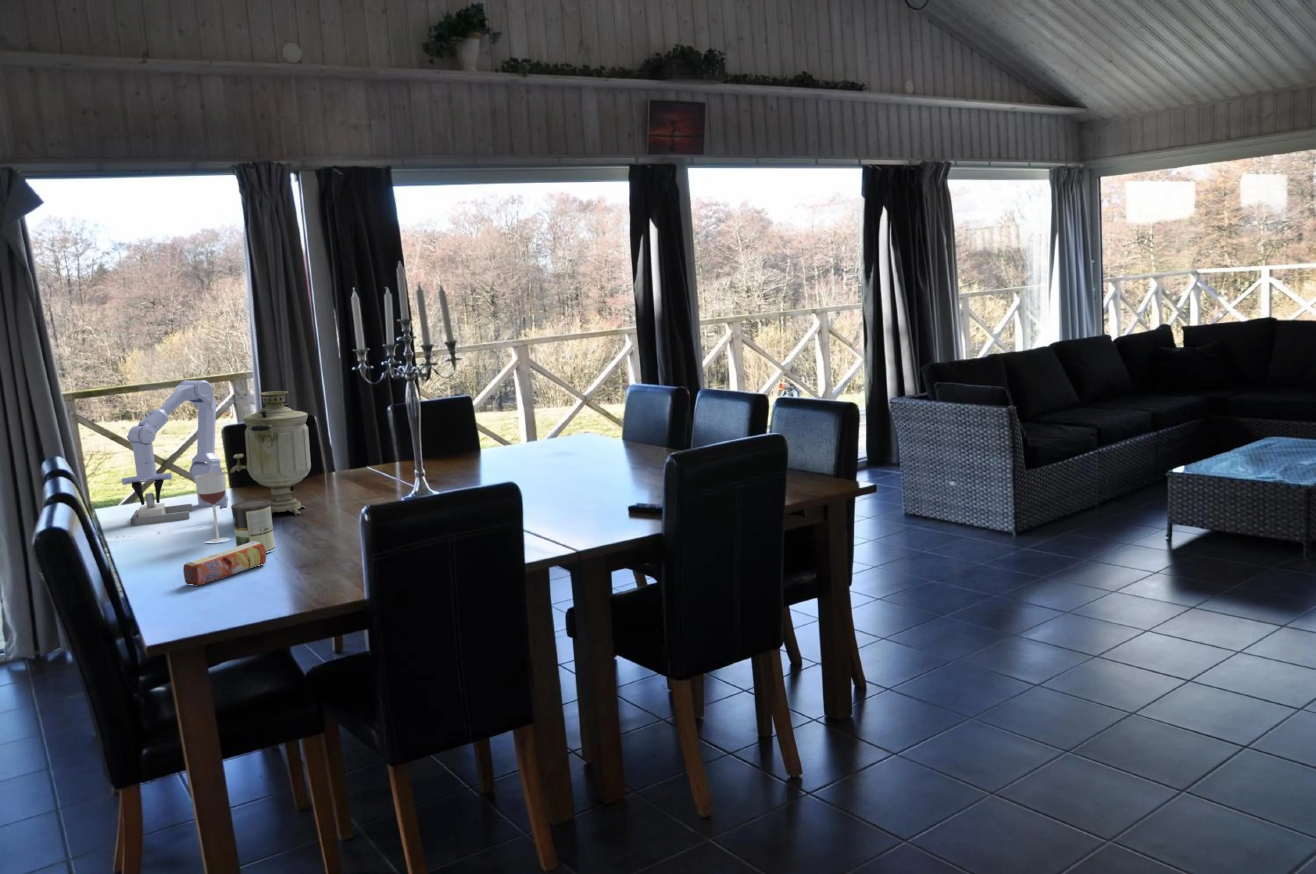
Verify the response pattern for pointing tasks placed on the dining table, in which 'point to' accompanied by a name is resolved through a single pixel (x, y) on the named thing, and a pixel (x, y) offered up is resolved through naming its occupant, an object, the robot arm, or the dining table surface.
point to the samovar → (277, 449)
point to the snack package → (224, 563)
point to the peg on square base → (151, 507)
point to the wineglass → (212, 492)
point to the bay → (164, 515)
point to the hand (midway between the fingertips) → (150, 503)
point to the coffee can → (253, 523)
